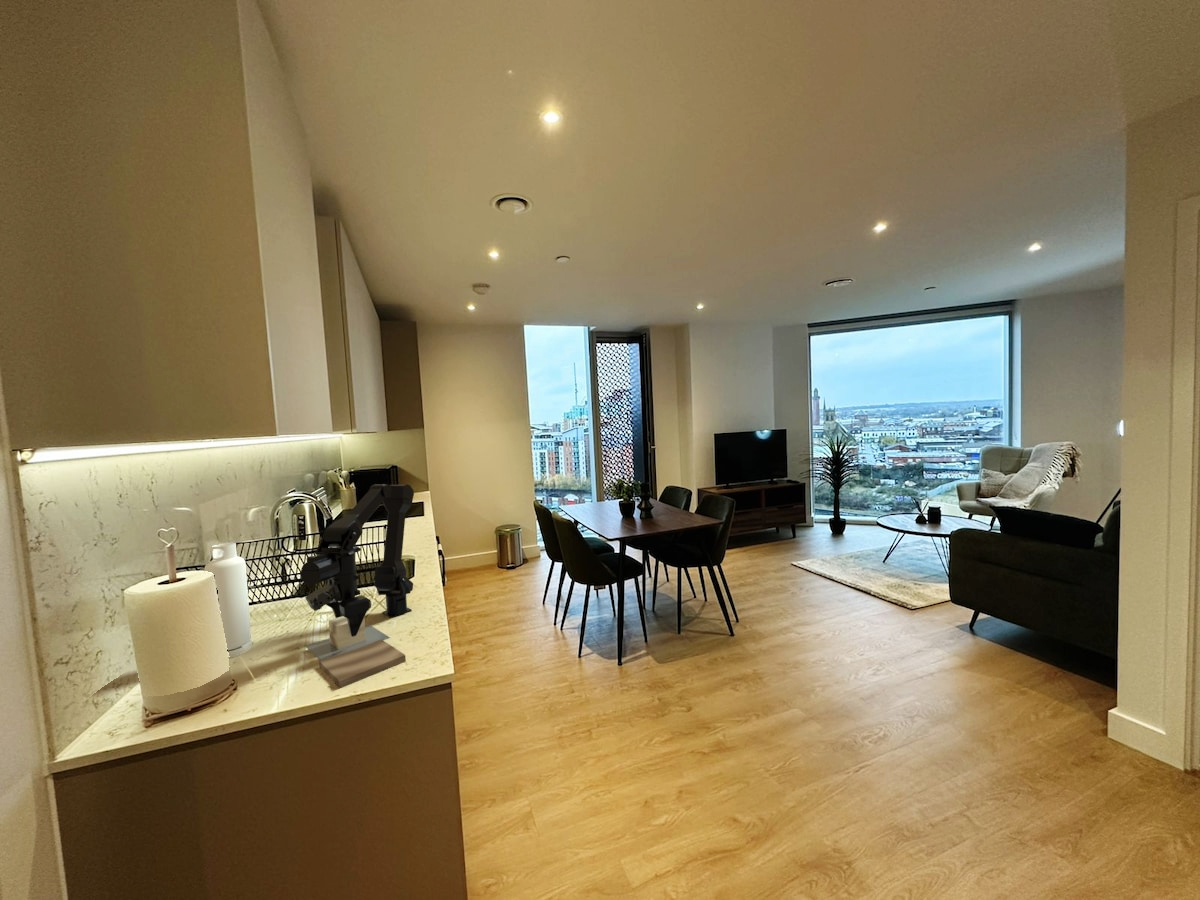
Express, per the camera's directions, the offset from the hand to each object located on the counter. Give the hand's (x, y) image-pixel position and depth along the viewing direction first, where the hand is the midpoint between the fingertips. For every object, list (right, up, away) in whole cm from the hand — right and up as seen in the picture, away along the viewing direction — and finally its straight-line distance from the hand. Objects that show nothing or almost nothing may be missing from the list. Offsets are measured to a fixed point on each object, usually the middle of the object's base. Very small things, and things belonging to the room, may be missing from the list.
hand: (347, 631), depth 116 cm
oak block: (0, -3, 0) cm, 3 cm away
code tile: (0, -3, 0) cm, 3 cm away
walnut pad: (+11, -3, -12) cm, 16 cm away
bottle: (-29, -5, -2) cm, 29 cm away
